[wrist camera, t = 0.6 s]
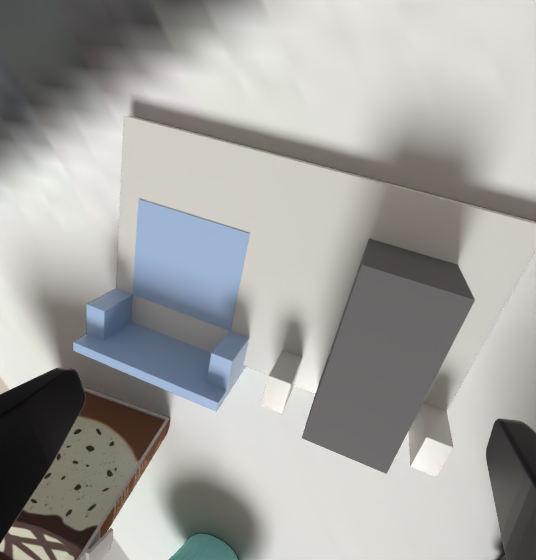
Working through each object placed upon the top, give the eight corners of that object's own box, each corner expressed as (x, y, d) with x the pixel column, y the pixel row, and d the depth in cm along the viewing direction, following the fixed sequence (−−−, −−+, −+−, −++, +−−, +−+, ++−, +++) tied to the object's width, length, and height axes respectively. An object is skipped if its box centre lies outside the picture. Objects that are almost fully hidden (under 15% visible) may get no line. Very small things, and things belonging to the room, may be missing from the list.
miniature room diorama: (541, 222, 16) (589, 250, 12) (425, 436, 21) (432, 503, 17) (133, 116, 20) (70, 111, 16) (122, 317, 25) (73, 350, 21)
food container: (57, 432, 32) (-74, 547, 23) (49, 374, 29) (-101, 477, 20) (185, 484, 29) (92, 638, 20) (188, 424, 26) (83, 570, 18)
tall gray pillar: (458, 264, 16) (474, 299, 13) (388, 414, 20) (386, 473, 17) (368, 238, 17) (362, 264, 14) (317, 386, 21) (301, 438, 17)
